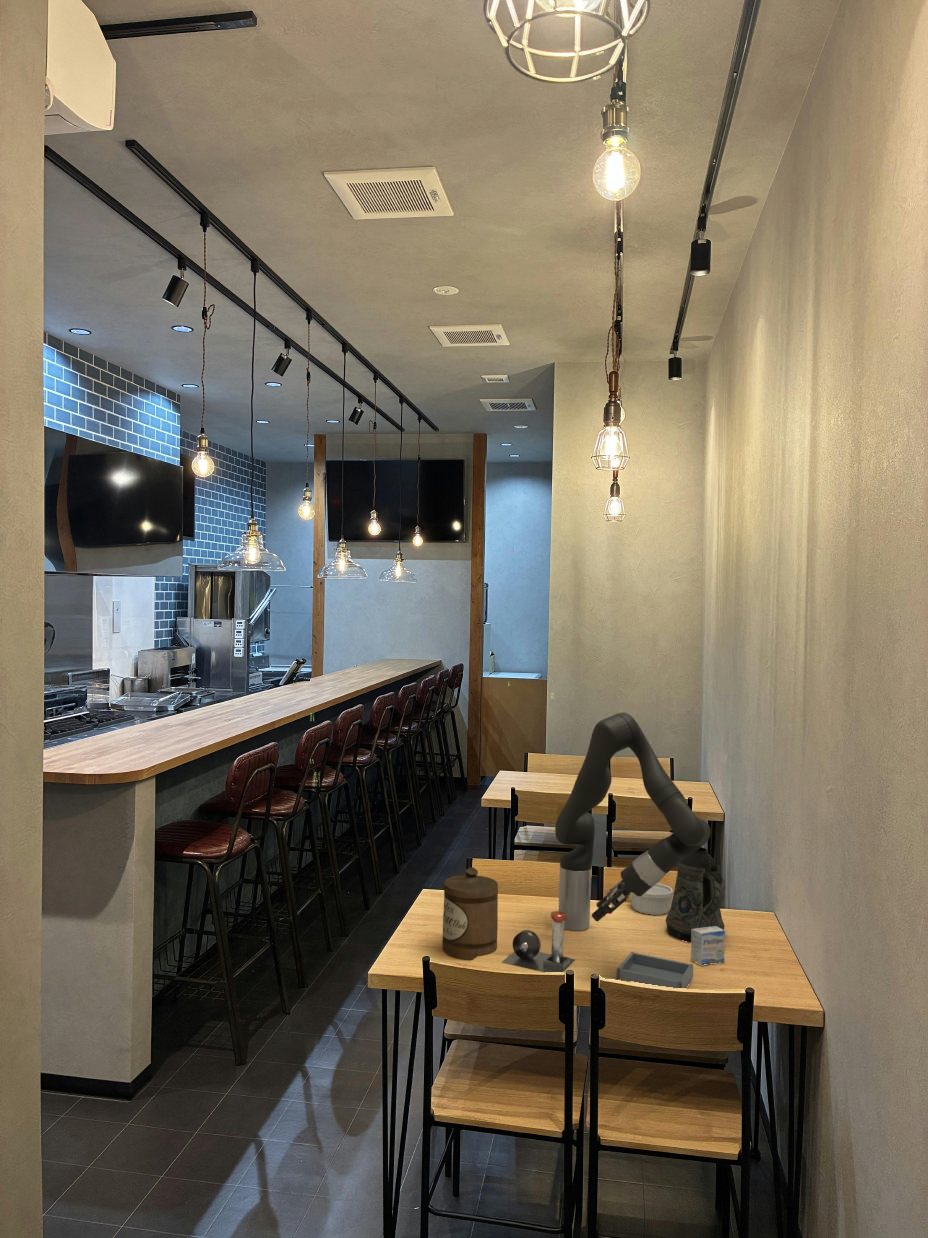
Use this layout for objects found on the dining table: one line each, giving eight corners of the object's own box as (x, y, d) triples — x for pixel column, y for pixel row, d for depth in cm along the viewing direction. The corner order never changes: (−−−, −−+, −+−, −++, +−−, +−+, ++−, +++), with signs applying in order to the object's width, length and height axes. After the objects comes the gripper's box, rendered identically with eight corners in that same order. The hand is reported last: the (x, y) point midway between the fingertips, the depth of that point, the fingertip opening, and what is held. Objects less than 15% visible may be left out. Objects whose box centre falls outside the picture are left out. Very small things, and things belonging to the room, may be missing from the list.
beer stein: (683, 920, 265) (686, 838, 265) (743, 938, 251) (746, 851, 251) (654, 933, 253) (657, 847, 253) (716, 952, 239) (719, 861, 239)
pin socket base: (519, 951, 235) (520, 921, 235) (575, 963, 228) (576, 933, 228) (500, 966, 224) (501, 935, 224) (559, 979, 217) (560, 947, 217)
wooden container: (434, 942, 239) (437, 862, 239) (484, 937, 244) (487, 859, 244) (453, 963, 225) (455, 878, 225) (505, 957, 231) (508, 874, 231)
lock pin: (552, 961, 226) (554, 910, 226) (566, 964, 225) (568, 913, 225) (547, 966, 223) (548, 914, 223) (561, 969, 221) (562, 917, 221)
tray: (630, 965, 228) (631, 952, 228) (692, 978, 221) (693, 964, 221) (616, 983, 216) (617, 969, 216) (681, 997, 209) (681, 983, 209)
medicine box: (700, 967, 229) (701, 934, 229) (689, 960, 233) (691, 928, 233) (724, 963, 232) (725, 930, 232) (713, 957, 236) (714, 925, 236)
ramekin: (645, 900, 283) (646, 879, 283) (680, 911, 273) (681, 889, 273) (620, 908, 274) (621, 886, 274) (655, 920, 264) (656, 897, 264)
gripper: (636, 854, 225) (590, 893, 229) (630, 869, 212) (582, 910, 215) (656, 877, 224) (609, 916, 227) (652, 893, 210) (602, 934, 213)
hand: (596, 913), depth 221 cm, fingers open, 8 cm apart
